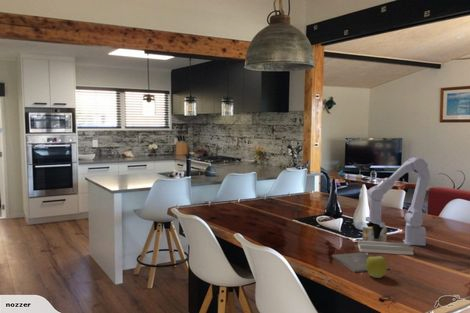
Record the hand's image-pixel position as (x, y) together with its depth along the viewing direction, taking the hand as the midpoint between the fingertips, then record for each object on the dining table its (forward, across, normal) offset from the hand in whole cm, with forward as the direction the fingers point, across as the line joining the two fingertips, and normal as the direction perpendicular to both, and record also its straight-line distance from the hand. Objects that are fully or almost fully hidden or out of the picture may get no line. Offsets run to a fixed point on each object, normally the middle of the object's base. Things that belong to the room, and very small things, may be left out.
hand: (374, 237), depth 212 cm
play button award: (+3, +26, -24) cm, 36 cm away
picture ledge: (+2, +13, -3) cm, 14 cm away
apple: (+3, +42, -26) cm, 49 cm away
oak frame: (+2, 0, 0) cm, 2 cm away
